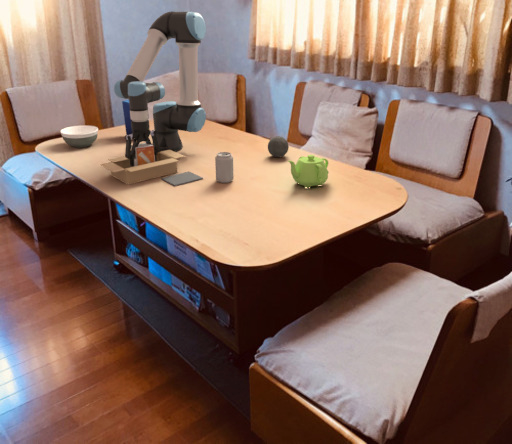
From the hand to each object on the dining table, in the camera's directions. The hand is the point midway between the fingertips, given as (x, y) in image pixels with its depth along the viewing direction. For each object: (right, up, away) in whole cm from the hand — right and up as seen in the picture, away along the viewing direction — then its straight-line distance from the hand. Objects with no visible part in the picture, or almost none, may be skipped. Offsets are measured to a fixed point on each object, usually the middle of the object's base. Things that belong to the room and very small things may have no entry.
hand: (144, 170), depth 234 cm
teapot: (+70, -7, -12) cm, 72 cm away
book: (-16, +23, +54) cm, 61 cm away
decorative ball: (+60, +9, +24) cm, 65 cm away
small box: (0, -1, +1) cm, 2 cm away
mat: (+17, -4, -6) cm, 19 cm away
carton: (0, -1, +1) cm, 1 cm away
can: (+36, -5, -7) cm, 37 cm away
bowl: (-41, +17, +41) cm, 61 cm away
